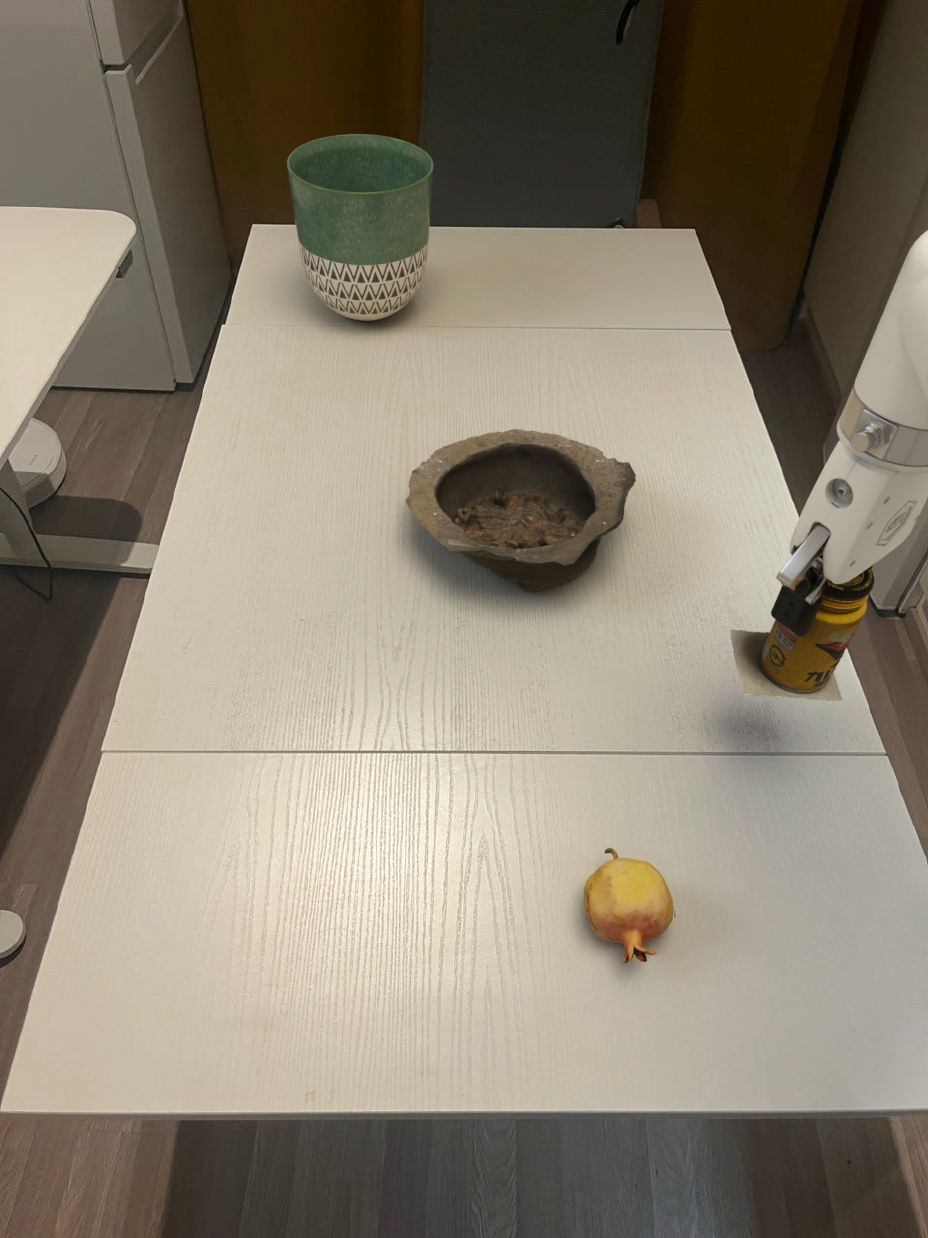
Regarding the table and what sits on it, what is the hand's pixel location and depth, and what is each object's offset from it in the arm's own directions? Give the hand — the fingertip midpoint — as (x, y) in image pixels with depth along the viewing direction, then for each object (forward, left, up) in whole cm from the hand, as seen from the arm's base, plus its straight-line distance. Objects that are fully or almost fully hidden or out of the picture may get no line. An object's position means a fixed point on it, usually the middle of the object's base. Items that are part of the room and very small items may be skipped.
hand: (814, 605), depth 73 cm
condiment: (0, +1, -7) cm, 7 cm away
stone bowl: (+35, +1, -18) cm, 39 cm away
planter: (+86, -14, -18) cm, 89 cm away
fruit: (-5, +24, -18) cm, 30 cm away
